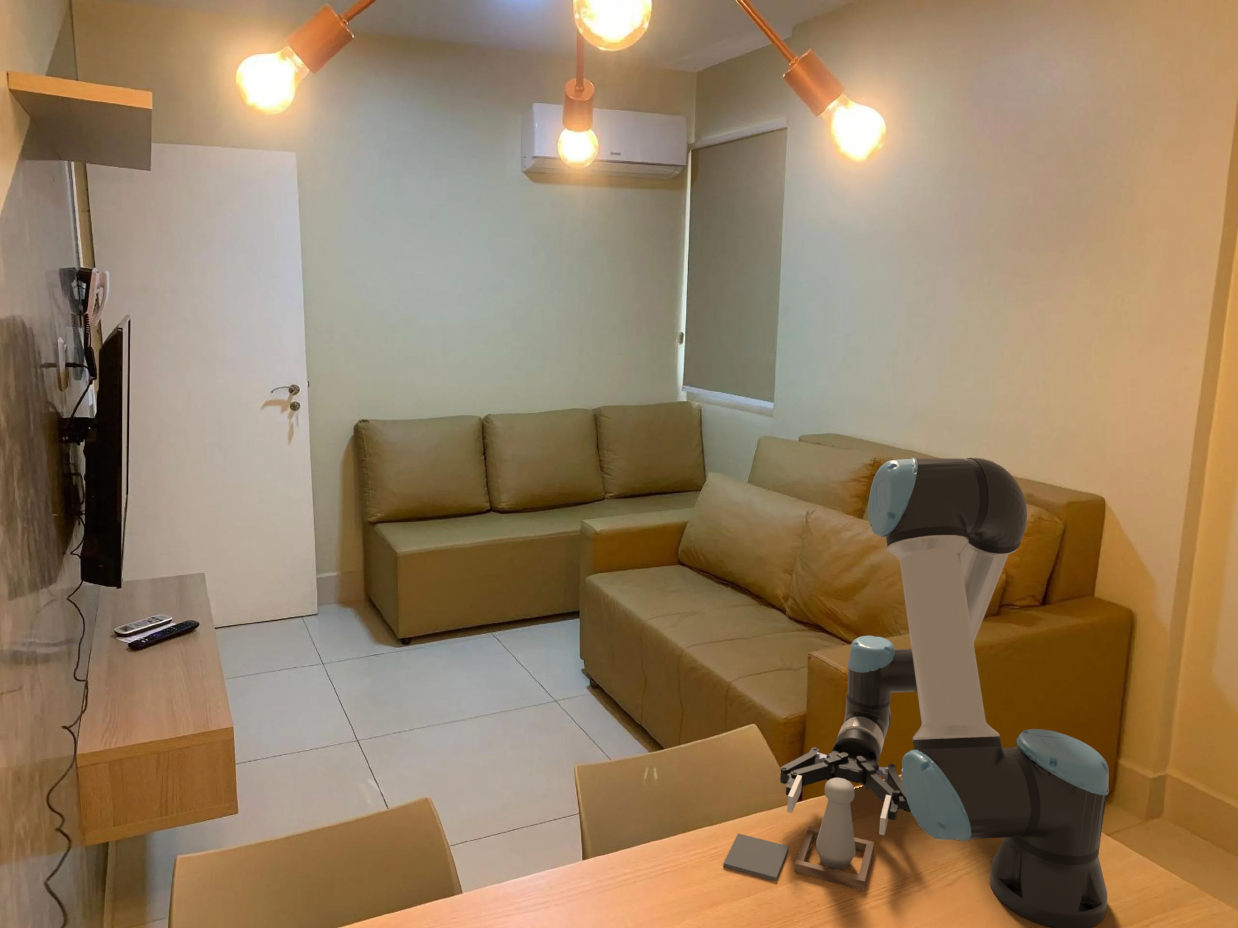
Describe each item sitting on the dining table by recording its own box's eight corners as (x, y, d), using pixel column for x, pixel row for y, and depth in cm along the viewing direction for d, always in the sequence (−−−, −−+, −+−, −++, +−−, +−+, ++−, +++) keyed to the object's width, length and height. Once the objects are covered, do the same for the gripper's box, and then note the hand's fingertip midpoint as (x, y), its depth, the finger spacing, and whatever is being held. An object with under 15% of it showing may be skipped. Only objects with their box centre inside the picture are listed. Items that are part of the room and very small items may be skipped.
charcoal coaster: (788, 849, 138) (788, 845, 138) (776, 880, 131) (776, 877, 131) (737, 836, 141) (738, 833, 141) (723, 866, 134) (723, 862, 134)
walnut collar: (873, 850, 138) (874, 841, 138) (864, 890, 129) (864, 881, 129) (808, 834, 142) (808, 825, 142) (794, 872, 133) (795, 863, 133)
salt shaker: (855, 876, 132) (861, 796, 130) (815, 870, 133) (820, 791, 131) (853, 851, 138) (859, 774, 135) (815, 846, 139) (819, 770, 136)
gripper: (933, 784, 150) (920, 859, 131) (784, 752, 159) (752, 817, 140) (936, 743, 148) (925, 812, 129) (786, 713, 158) (754, 773, 139)
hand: (835, 815), depth 135 cm, fingers open, 13 cm apart
